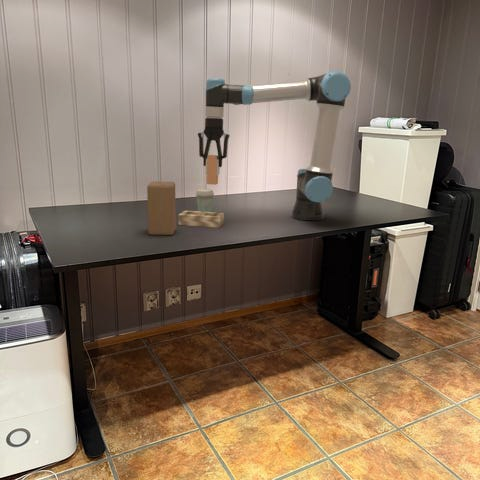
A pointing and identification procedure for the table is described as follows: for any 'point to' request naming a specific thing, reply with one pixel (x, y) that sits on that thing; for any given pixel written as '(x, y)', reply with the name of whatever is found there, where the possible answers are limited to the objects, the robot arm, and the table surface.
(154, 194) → the block
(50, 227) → the table surface
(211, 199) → the coffee cup
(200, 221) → the socket block
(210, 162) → the peg
